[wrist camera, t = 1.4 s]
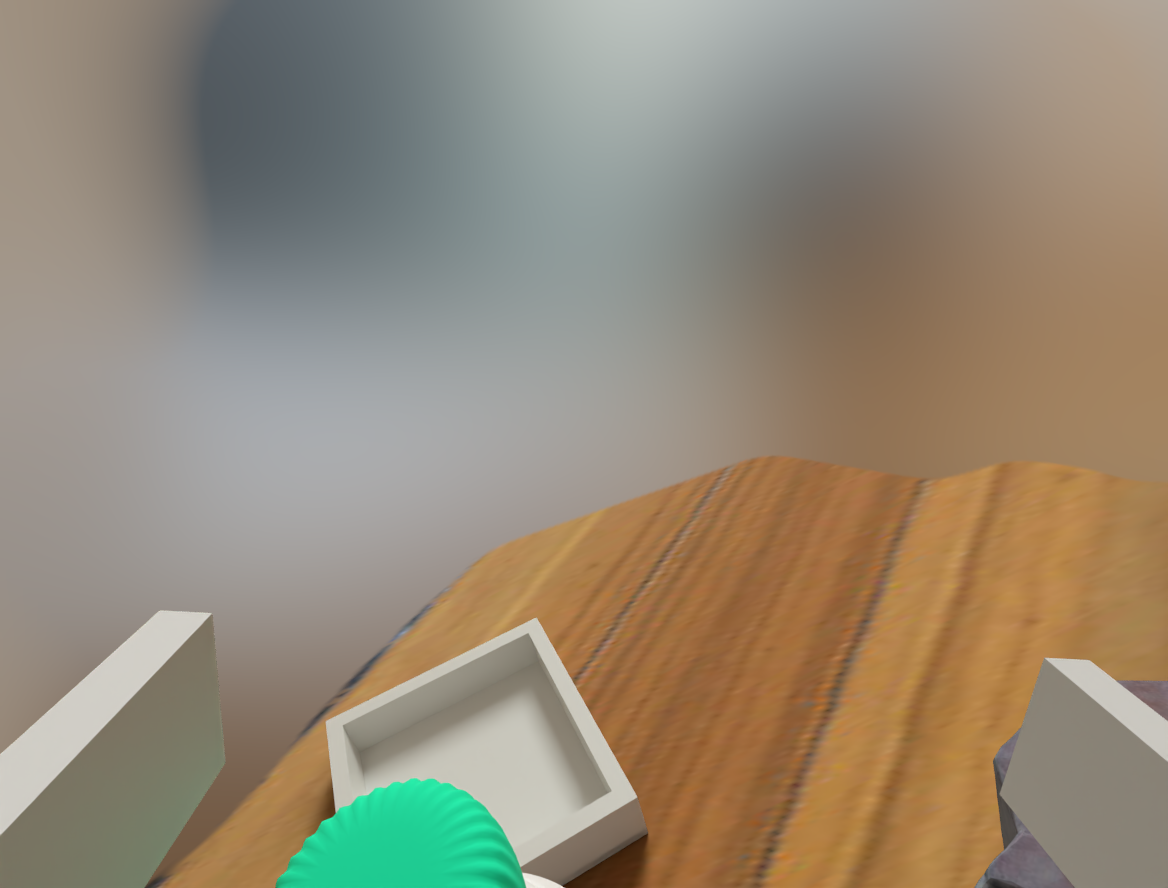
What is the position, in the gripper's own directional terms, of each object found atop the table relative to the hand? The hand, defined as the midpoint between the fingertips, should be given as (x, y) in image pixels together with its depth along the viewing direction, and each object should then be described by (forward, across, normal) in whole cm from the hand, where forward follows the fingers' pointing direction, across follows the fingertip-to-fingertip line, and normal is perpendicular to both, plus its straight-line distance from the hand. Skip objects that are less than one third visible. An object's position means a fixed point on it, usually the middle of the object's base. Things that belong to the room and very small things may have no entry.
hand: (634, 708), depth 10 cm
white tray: (+24, -4, -25) cm, 34 cm away
